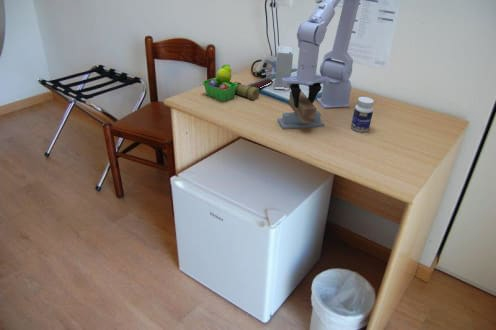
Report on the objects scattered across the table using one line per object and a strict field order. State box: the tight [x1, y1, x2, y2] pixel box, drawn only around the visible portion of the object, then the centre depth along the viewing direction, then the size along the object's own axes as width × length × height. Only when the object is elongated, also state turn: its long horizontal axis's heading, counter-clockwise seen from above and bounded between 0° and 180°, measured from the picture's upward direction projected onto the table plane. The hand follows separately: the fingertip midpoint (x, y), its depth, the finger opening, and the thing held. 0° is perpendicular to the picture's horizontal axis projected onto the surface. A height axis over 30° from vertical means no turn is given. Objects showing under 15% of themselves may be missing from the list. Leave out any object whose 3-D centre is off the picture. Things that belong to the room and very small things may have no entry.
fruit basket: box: [202, 63, 238, 102], centre depth 145 cm, size 11×9×11 cm
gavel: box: [233, 78, 273, 101], centre depth 154 cm, size 21×5×10 cm
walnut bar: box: [288, 90, 317, 123], centre depth 129 cm, size 4×14×4 cm, turn 12°
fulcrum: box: [277, 110, 326, 130], centre depth 130 cm, size 14×6×4 cm, turn 102°
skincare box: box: [273, 45, 294, 89], centre depth 154 cm, size 8×6×15 cm
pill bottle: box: [350, 96, 374, 133], centre depth 127 cm, size 6×6×10 cm
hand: (302, 105), depth 128 cm, fingers closed on walnut bar, 4 cm apart
